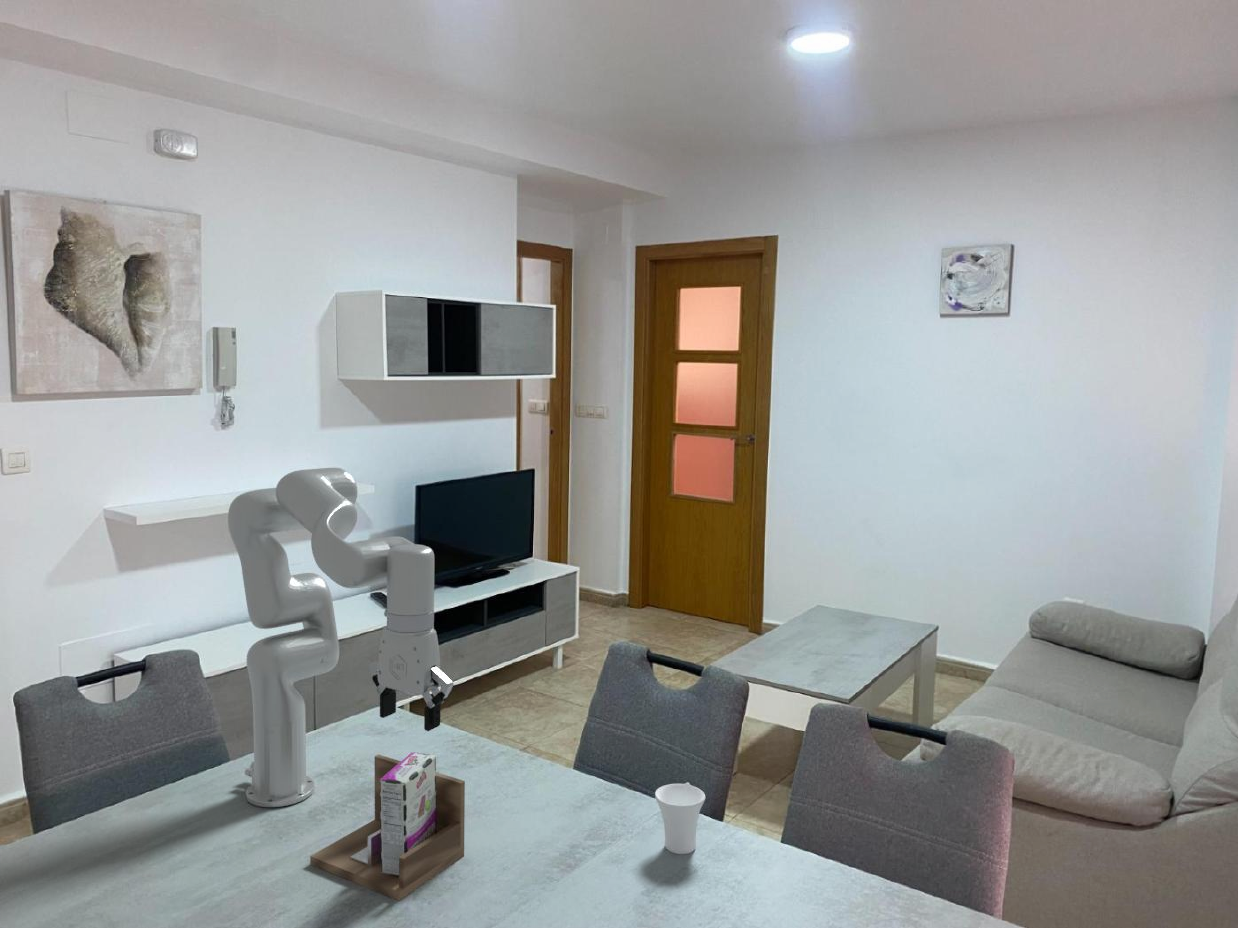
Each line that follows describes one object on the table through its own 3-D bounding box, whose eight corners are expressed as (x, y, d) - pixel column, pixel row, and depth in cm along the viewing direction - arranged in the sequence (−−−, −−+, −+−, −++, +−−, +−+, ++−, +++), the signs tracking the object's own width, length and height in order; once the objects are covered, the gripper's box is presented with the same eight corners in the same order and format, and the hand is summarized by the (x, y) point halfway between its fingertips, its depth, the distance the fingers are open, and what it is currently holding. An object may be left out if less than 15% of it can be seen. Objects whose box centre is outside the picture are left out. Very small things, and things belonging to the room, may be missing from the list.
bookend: (350, 858, 156) (350, 830, 155) (392, 833, 164) (392, 806, 164) (371, 866, 153) (371, 837, 153) (412, 840, 162) (412, 813, 161)
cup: (710, 839, 168) (712, 787, 167) (692, 864, 159) (694, 808, 158) (665, 828, 171) (667, 776, 170) (645, 851, 163) (647, 797, 162)
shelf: (310, 864, 156) (309, 787, 155) (378, 824, 170) (378, 754, 169) (399, 900, 146) (399, 819, 145) (464, 855, 160) (464, 780, 159)
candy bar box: (411, 840, 162) (411, 750, 160) (437, 845, 161) (437, 754, 159) (378, 874, 151) (378, 777, 149) (406, 879, 150) (406, 782, 148)
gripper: (354, 617, 152) (354, 717, 154) (435, 635, 144) (434, 741, 146) (387, 607, 159) (387, 703, 161) (466, 624, 150) (465, 725, 152)
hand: (409, 721), depth 153 cm, fingers open, 9 cm apart
